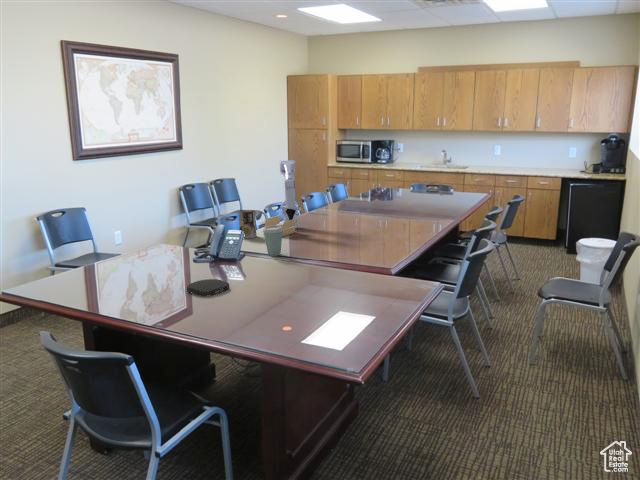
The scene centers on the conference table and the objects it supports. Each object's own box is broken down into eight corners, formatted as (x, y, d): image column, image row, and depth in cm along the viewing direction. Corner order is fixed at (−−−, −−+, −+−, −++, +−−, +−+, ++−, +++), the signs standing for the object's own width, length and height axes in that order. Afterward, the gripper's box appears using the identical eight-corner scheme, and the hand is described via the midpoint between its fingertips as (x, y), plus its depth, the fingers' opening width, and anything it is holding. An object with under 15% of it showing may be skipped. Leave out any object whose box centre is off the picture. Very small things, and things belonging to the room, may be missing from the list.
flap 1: (278, 223, 337) (280, 214, 335) (279, 223, 337) (281, 214, 334) (264, 227, 325) (266, 218, 323) (264, 227, 325) (266, 218, 322)
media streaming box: (211, 283, 232) (210, 276, 231) (233, 289, 222) (232, 282, 222) (183, 291, 221) (182, 284, 220) (205, 298, 211) (205, 291, 211)
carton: (280, 230, 339) (280, 224, 338) (295, 232, 332) (295, 226, 332) (263, 235, 325) (263, 229, 324) (278, 237, 318) (278, 231, 317)
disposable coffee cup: (280, 257, 272) (279, 229, 269) (260, 256, 274) (259, 228, 271) (286, 252, 282) (285, 224, 279) (267, 251, 284) (265, 224, 281)
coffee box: (256, 236, 323) (255, 210, 320) (254, 238, 317) (253, 212, 314) (242, 236, 324) (241, 210, 321) (239, 238, 318) (238, 211, 314)
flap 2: (294, 225, 330) (298, 217, 327) (294, 225, 330) (299, 218, 327) (279, 229, 318) (284, 221, 315) (280, 230, 318) (284, 222, 315)
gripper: (276, 199, 319) (277, 221, 323) (296, 201, 312) (296, 223, 315) (283, 197, 325) (284, 219, 328) (303, 199, 317) (303, 221, 320)
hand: (291, 221), depth 322 cm, fingers closed, pressing on flap 2
